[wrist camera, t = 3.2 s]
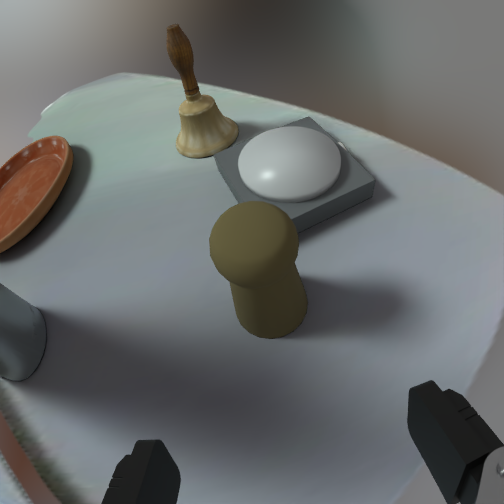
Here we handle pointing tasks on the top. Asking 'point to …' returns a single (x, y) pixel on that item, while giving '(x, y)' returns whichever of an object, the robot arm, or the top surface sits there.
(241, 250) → the cork
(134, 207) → the top surface
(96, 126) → the top surface
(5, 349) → the robot arm
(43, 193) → the saucer
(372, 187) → the scale
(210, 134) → the hand bell
